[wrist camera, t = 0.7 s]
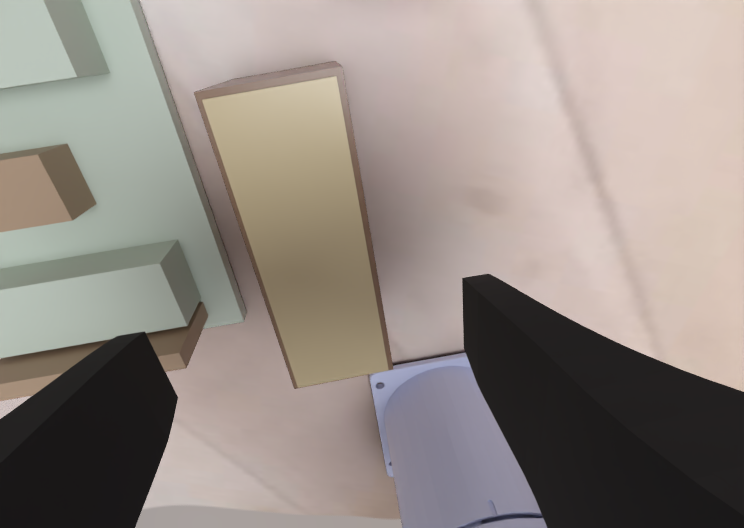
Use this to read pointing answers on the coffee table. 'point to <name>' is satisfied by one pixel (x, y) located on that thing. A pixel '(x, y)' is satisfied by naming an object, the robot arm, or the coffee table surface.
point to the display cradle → (97, 197)
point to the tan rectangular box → (302, 216)
